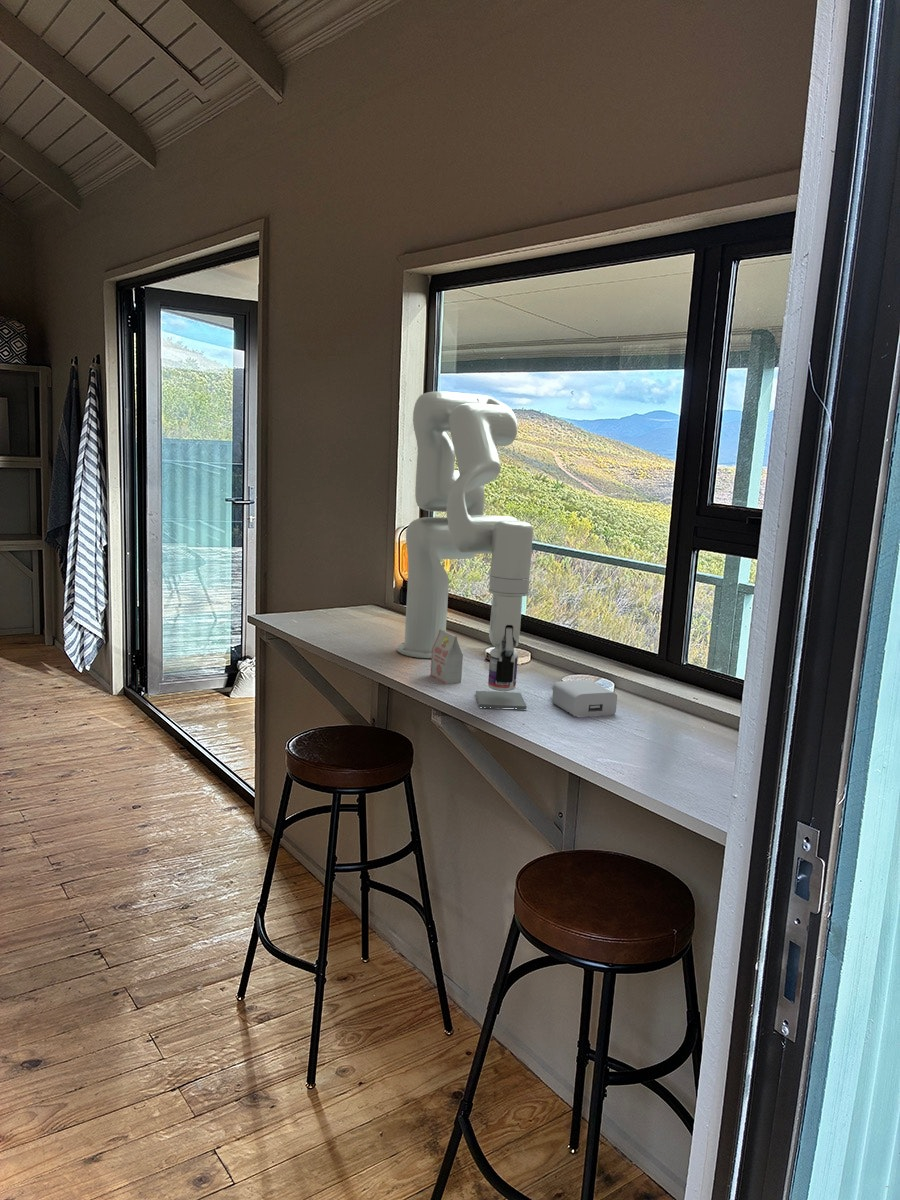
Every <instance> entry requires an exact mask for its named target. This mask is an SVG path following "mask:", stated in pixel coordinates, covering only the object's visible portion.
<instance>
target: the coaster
mask: <svg viewBox="0 0 900 1200" xmlns="http://www.w3.org/2000/svg"><path fill="white" fill-rule="evenodd" d="M475 697H477V698H476V701H478V702H477V704H479V705H478V708H479V707H482V708H481V709H485V708H484V707H486V708H490V707H491V708H514V709H515V708H517V709H526V710H527V707H528V706H527V704H526V702H525V700H524V697H523V695H522V693H521V692H517V691H516V692H515V691H495V690H493V691H489V690H475Z"/></svg>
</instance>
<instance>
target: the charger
mask: <svg viewBox="0 0 900 1200" xmlns="http://www.w3.org/2000/svg"><path fill="white" fill-rule="evenodd" d="M550 688H551V690H552V694H551V695H552V696H551V702H552V704H554V705H556V706H557V705H558V707H559V708H560V707H561V708H560V709H562V710H564V711H565V712H567V713H568V712H569V713H568V714H570V715H572V716H573V717H575V716H590V717H596V716H595V715H604V716H614V715H615V714H616V712H617V704H618V694H617V693H616V692H614V691H612V690H611V689H607V688H606V687H604V686H602V685H601V684H598V683H596V682H595V681H593V680H591V679H580V680H576V679H575V680H561V681H559V680H558V681H556V682H553V683H552V685H551V686H550Z"/></svg>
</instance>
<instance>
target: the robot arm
mask: <svg viewBox="0 0 900 1200" xmlns="http://www.w3.org/2000/svg"><path fill="white" fill-rule="evenodd" d="M413 407H414V408H413V413H412V422H413V423H412V426H413V431H414V435H415V438H416V439H415V440H416V446H417V455H416V471H415V472H416V474H415V495H414V497H415V503H416V506H418V508H419V509H421V510H423V511H427V512H439V513H440V512H441V513H446V517H436V516H435V517H432V516H431V517H430V516H426V517H419V518H416V519H413V520H412V521H411V522H410V523H409V524H408V526H407V528H406V531H405V545H406V552H407V587H406V588H407V591H406V605H405V606H406V607H405V626H404V641H403V642H402V643H399V644H398V645H397V652H399V654H401V655H402V656H403V655H404V656H407V657H412V658H420V659H431V657H432V648H433V645H434V643H435V641H436V639H437V637H438V634H439V631H440V630H444V631H446V632H447V618H448V616H447V615H448V604H449V603H448V602H449V601H448V600H449V599H448V598H449V587H450V586H449V583H450V580H449V575H448V573H447V571H446V570H445V568H444V567H443V565H442V563H441V561H442V560H465V559H466V560H469V559H472V558H474V557H476V556H477V554H478V555H479V554H482V555H483V554H485V555H487V554H489V555H490V554H491V556H490V557H491V559H490V560H491V561H490V568H489V569H490V571H489V572H490V573H489V584H488V585H489V587H488V592H489V594H492V595H493V596H492V601H491V608H490V609H491V610H490V621H489V622H490V623H489V628H488V629H489V630H488V637H489V640H490V643H491V644H492V646H493V647H495V646H496V645H499V661H497V668H496V681H497V682H510V683H511V682H512V681H513V669H514V662H513V661H514V650H515V648H516V647H518V645H519V642H520V633H521V621H522V620H521V619H522V608H523V607H522V605H523V604H522V603H523V597H527V596H528V595H529V588H530V573H531V564H532V563H531V562H532V551H533V550H532V549H533V538H534V534H533V533H534V529H533V526H532V525H531V523H529V522H527V521H526V522H525V521H522V520H519V519H518V518H516V517H513V516H511V515H510V516H508V515H493V514H492V515H490V514H488V515H487V514H484V512H485V510H484V508H485V487H484V486H486V485H487V484H489V483H491V482H492V481H494V480H495V479H497V477H498V476H499V475H500V473H501V469H502V468H501V463H500V457H499V453H498V449H497V447H508V446H510V445H512V444H513V443H514V442H515V440H516V438H517V435H518V429H519V428H518V420H517V417H516V415H515V413H514V411H513V410H512V409H511V407H509V405H507V404H505V403H504V402H502V401H499V400H498V399H495V398H494V397H492V396H489V395H485V394H476V393H464V392H463V393H462V392H456V391H455V392H454V391H453V392H452V391H429V392H425V393H422V394H420V395H419V396H418V398H417V399H416V401H415V403H414V406H413ZM447 432H449V433H450V436H451V438H450V436H449V434H447ZM455 460H456V461H455ZM455 462H456V463H455ZM455 464H456V465H457V468H458V469H457V470H456V469H455V468H456V467H455ZM514 640H515V641H514ZM502 642H503V643H505V645H502ZM502 649H505V650H503V652H502Z"/></svg>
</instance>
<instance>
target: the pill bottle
mask: <svg viewBox="0 0 900 1200" xmlns="http://www.w3.org/2000/svg"><path fill="white" fill-rule="evenodd" d="M514 641H515V640H514ZM502 645H505V643H503V642H502ZM503 650H505V649H502V652H503ZM518 657H519V653H518V652H517V650H515V649H514V661H513V662H514V669H513V681H512V682H511V683H510V682H497V681H496V668H497V661H499V645H496V646H494V648H492V649H491V650H490V654H489V665H488V666H489V667H488V681H487V682H488V683H487V685H488V688H489V689H490V690H493V691H496V692H512V691H514V690H515V689H516V687H517V686H516V684H517V674H518V672H517V671H518V660H519V658H518Z"/></svg>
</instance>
